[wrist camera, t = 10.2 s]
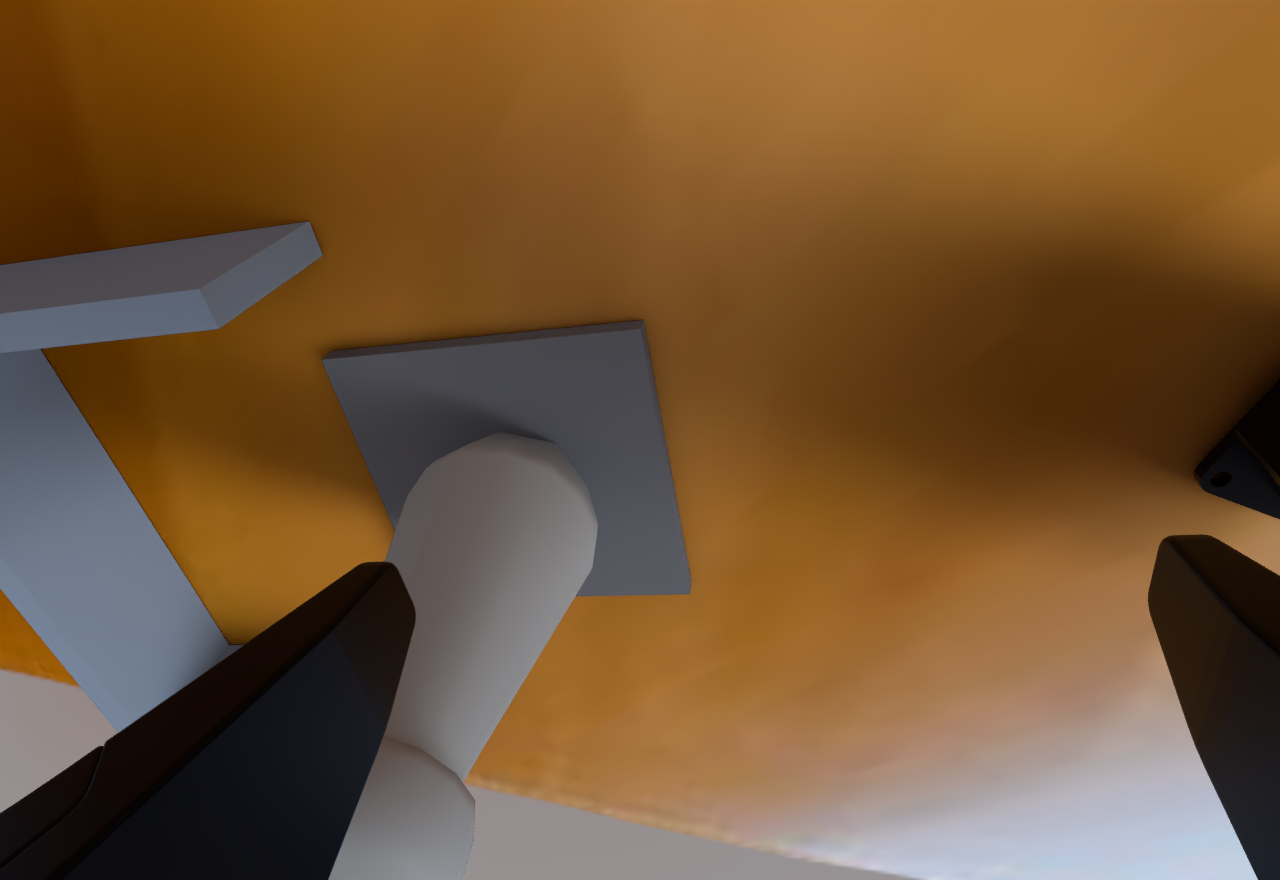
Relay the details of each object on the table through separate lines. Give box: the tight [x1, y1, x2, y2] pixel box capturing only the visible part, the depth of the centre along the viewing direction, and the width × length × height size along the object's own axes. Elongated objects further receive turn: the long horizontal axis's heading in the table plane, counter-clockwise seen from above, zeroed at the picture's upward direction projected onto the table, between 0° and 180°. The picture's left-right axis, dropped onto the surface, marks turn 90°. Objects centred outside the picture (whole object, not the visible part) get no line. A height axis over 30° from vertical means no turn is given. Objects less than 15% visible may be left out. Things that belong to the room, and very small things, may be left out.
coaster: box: [321, 320, 691, 596], centre depth 25 cm, size 10×10×1 cm
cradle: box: [0, 221, 323, 733], centre depth 26 cm, size 12×18×5 cm
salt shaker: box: [329, 432, 598, 880], centre depth 20 cm, size 6×6×13 cm
